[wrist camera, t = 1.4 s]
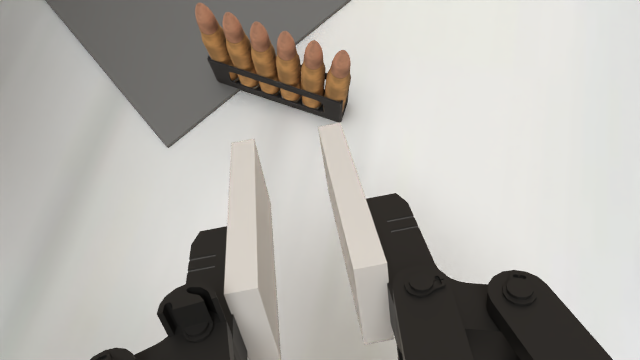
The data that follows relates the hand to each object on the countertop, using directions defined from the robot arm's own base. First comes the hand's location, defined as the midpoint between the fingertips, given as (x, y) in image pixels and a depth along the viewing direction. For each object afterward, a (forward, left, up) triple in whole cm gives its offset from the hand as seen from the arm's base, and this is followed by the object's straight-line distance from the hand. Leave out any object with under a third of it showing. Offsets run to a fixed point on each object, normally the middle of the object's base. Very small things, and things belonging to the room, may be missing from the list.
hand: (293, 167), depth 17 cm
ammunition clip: (-10, +5, -22) cm, 25 cm away
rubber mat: (-21, +5, -22) cm, 31 cm away
